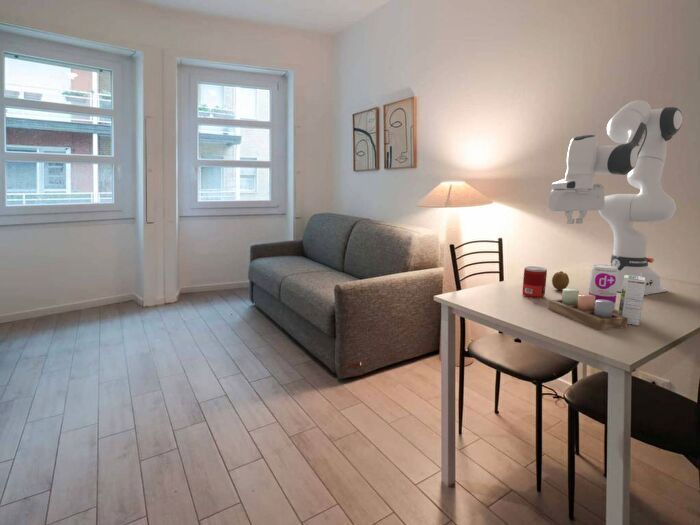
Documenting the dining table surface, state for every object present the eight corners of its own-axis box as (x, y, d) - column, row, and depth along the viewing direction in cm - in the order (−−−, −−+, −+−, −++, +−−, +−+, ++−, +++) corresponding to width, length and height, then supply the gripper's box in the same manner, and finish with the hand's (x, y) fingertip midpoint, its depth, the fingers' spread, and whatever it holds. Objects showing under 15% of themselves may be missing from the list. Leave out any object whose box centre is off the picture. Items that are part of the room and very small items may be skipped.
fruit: (559, 287, 170) (561, 269, 169) (571, 291, 165) (573, 272, 163) (547, 289, 168) (549, 270, 167) (559, 292, 163) (561, 273, 161)
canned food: (546, 298, 154) (549, 270, 152) (524, 297, 155) (526, 269, 153) (541, 293, 161) (544, 266, 159) (520, 292, 163) (522, 265, 161)
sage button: (570, 302, 141) (571, 288, 140) (580, 305, 137) (582, 291, 136) (558, 302, 140) (559, 288, 139) (568, 306, 136) (569, 292, 135)
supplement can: (614, 313, 136) (620, 269, 133) (586, 309, 140) (591, 267, 138) (614, 307, 143) (619, 265, 140) (587, 303, 147) (591, 263, 144)
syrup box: (617, 317, 132) (623, 274, 129) (639, 321, 128) (646, 276, 126) (617, 322, 127) (622, 277, 124) (640, 326, 124) (646, 280, 121)
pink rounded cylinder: (585, 307, 135) (587, 293, 134) (597, 312, 130) (599, 297, 129) (573, 308, 134) (574, 294, 133) (584, 313, 129) (586, 298, 128)
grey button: (602, 314, 128) (604, 298, 127) (615, 319, 123) (617, 303, 122) (590, 315, 127) (591, 299, 126) (602, 320, 122) (604, 304, 121)
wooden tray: (572, 306, 144) (573, 298, 143) (626, 327, 123) (627, 317, 122) (548, 308, 142) (548, 300, 141) (598, 329, 121) (599, 320, 120)
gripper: (597, 183, 145) (592, 222, 148) (547, 183, 141) (543, 223, 143) (611, 183, 139) (607, 223, 142) (560, 183, 135) (556, 225, 137)
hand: (574, 223), depth 142 cm, fingers open, 2 cm apart
